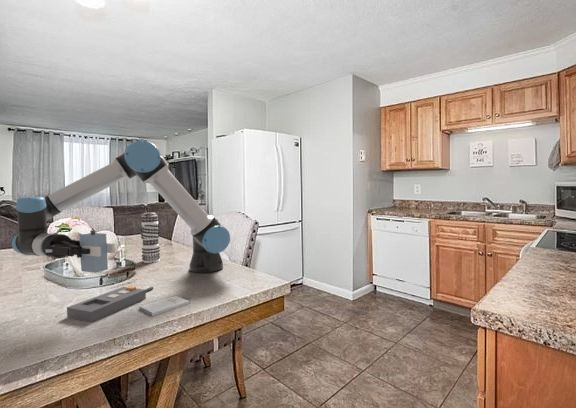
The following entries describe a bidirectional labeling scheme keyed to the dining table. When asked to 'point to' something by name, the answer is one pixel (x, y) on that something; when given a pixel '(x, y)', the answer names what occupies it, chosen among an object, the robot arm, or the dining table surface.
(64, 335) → the dining table surface
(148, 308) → the external hard drive
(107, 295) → the power strip
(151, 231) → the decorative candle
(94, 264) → the block
